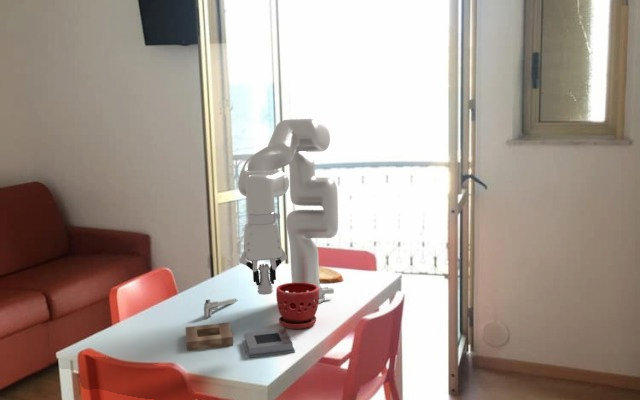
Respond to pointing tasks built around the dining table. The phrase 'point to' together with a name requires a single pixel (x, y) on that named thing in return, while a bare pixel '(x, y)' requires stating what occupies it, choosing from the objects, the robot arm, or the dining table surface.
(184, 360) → the dining table surface
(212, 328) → the socket block
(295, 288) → the plant pot
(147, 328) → the dining table surface
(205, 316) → the caliper
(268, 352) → the holder
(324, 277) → the golden brown flat disc
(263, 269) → the rook chess piece
